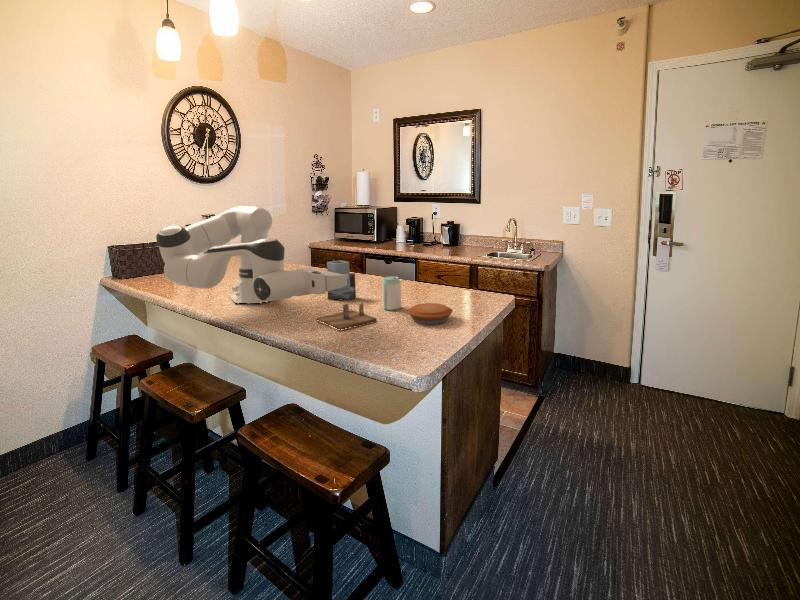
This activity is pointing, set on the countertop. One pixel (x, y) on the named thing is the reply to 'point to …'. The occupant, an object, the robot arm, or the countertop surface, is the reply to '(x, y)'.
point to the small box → (345, 295)
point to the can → (391, 293)
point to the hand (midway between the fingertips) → (340, 274)
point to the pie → (430, 313)
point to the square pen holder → (340, 268)
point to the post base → (346, 322)
